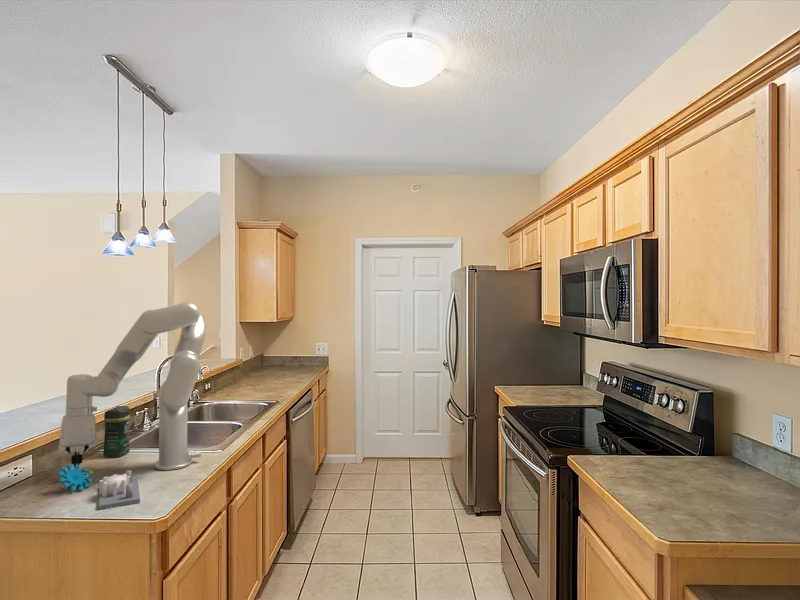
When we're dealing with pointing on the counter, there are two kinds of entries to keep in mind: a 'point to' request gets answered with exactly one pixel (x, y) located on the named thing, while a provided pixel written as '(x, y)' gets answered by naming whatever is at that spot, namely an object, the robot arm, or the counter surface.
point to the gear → (75, 477)
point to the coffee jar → (116, 432)
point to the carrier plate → (122, 497)
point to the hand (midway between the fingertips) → (76, 465)
